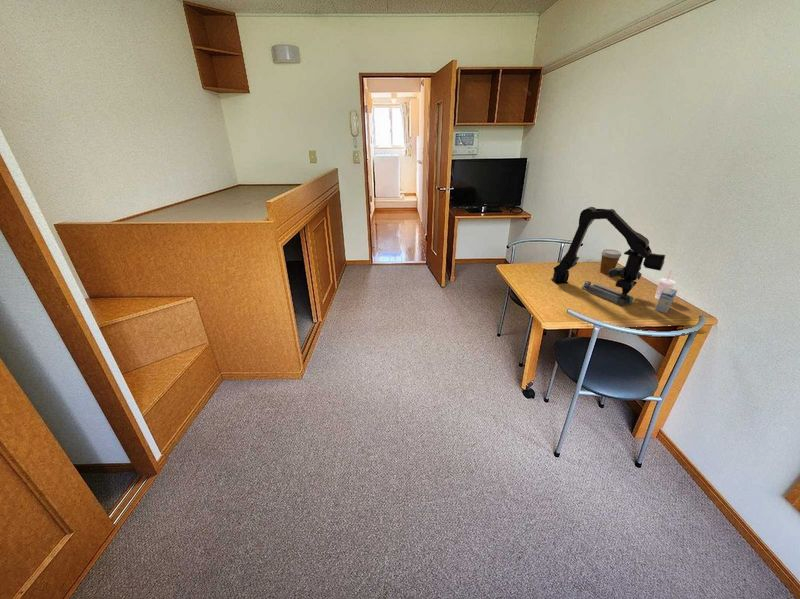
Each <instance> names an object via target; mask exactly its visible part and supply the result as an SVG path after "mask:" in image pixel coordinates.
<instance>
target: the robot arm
mask: <svg viewBox="0 0 800 599" xmlns="http://www.w3.org/2000/svg"><path fill="white" fill-rule="evenodd" d="M595 220H607V221H608V222H609V223H610V224H611V225H612V227H614V228H615V229H616V230H617V231H618V232H619V234H621V236H622V237H624V239H625V240H626V243H627V245H628V246H629V249H628V250H626V251H624V252H623V255H627V259H626V263H625V266H623V267H615V268H612V269H610V270H609V274H608V275H609V277H610V278H613V277H614V278H615V277H619V278H620V279H618V280H617V281H616V282H615V287H617V288H621V293H623V294H626V295H629V293H630V292H631V290H632V289H634V287H635V286H636V285H637V283H638V282H637V280H638V281H639V280H641V278H642V275H643V274H642V273H641V272H640V271H641V269H642V265H643V267H644V268H645V269H649V270H655V271H662V269H663V267H664V264H665V259H666V255H665V254H658V253H653V251H652V248H651V247H650V240H649V239H648V238H647V237H646V236H644V235H643V234H642V233H639V232H637V231H636V230H634V229H633V228H632V227H631V226H630V225H629V224H628V222H626V221H625V219H623V218H622V217H621V216H620V214H618V213H617V211H616V210H615V209H613V208H609V209H607V208H596V207H595V206H589V207H587V208H584V209H582V211H581V212H580V214H579V219H578V226H577V229H576V232H574V233H575V234H574V236H573V238H572V241H571V243H570V245H569V248H568V250H567V252H566V253H565V255H564V256H563V257H562V259H561V260H560V262H559V264H557V265H556V266H554V267H553V276H552V277H551V280H552V282H554V283H555V284H557V285H558V284H559V285H561V284H563V285H564V284H569V282H568V281H569V278H570V271H569V270H571V269H572V268H574V267H575V266H577V264H578V261H579V259H580V257H579V256H578V252H579V250H580V247H581V245H582V243H583V241H584V238H585V236H586V234H587V231H588V229H589V228H590V226H591V225H592V223H593V222H594V221H595Z"/></svg>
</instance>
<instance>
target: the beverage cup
mask: <svg viewBox="0 0 800 599" xmlns="http://www.w3.org/2000/svg"><path fill="white" fill-rule="evenodd" d="M668 273H669V274H668V275H667V278H665V277H664V278H662V277H661V278H659V279H658V285H657V287H656V292H655V296H654V298H655V299H657V300H659V298H660V295H661V293H662V292H663V290H664V289H665V288H670V289H673V287H674V285H675V284H676V281H675V280H673V279H670V276H671V273H672V270H670V271H669V272H668Z"/></svg>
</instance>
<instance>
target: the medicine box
mask: <svg viewBox="0 0 800 599" xmlns="http://www.w3.org/2000/svg"><path fill="white" fill-rule="evenodd" d="M677 292H678V290H677V289H673V288H672V289H670V288H665V289H664V290H663V292H662V293H661V295H660V298H659V300H658V299H657V300H658V301H657V303H656V306H655V309H654V311H656V312H657V311H658V312H661V313H664V314H668V312H669V309H670V308H671V307H672V304H673V302H674V299H675V297H676V295H677Z"/></svg>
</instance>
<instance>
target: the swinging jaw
mask: <svg viewBox="0 0 800 599" xmlns="http://www.w3.org/2000/svg"><path fill="white" fill-rule="evenodd" d="M592 285H593V286H595V287H598V288H600V289H603V290H605V291H608V292H610V293H613V294H615V295H618V296H620V297H625V298H627V299H628V302H627V305H630V304H632V303H633V301H634V298H635V297H634V296H633V295H632V296H631V295H630V294H627V295H626V294H623V293H622V291H621V292H620V291H617V290H615V289H612V288H609V287H607V286H604V285H602V284H598V283H594V284H592Z"/></svg>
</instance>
